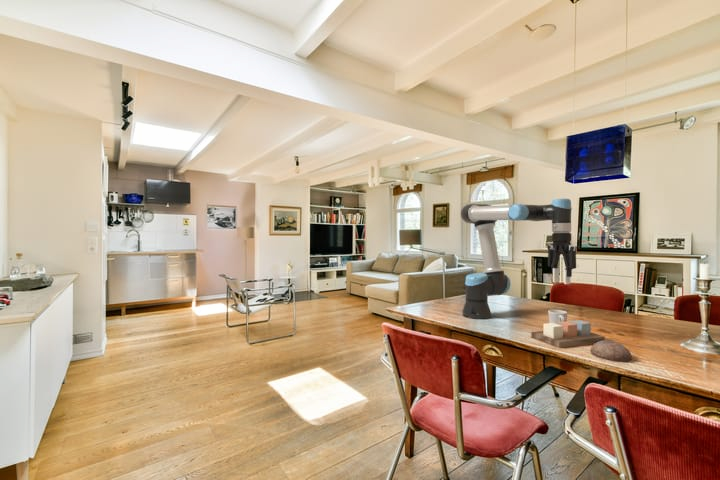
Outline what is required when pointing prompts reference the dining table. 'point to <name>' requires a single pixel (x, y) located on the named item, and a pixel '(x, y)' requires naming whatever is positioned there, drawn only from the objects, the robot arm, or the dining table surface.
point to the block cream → (553, 330)
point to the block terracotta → (568, 328)
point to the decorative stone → (611, 351)
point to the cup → (557, 316)
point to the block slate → (582, 327)
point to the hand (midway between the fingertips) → (561, 283)
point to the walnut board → (568, 339)
